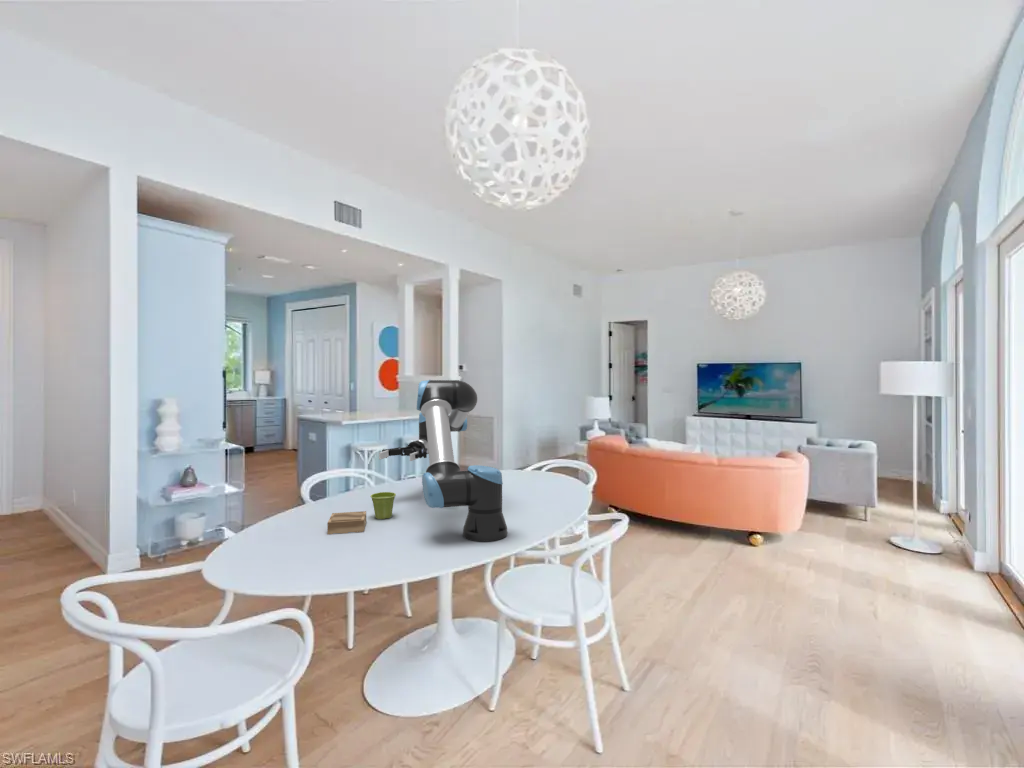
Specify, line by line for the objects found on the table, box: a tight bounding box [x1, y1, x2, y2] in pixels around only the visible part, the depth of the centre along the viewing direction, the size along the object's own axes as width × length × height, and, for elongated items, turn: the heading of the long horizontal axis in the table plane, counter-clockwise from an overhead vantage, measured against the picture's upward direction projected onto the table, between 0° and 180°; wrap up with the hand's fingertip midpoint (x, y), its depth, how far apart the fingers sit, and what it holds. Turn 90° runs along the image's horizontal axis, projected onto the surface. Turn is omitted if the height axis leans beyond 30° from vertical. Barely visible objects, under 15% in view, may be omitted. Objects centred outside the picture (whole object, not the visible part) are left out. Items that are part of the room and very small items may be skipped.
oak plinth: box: [326, 510, 367, 535], centre depth 180 cm, size 12×12×4 cm
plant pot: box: [370, 491, 397, 520], centre depth 193 cm, size 9×9×9 cm
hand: (395, 456), depth 202 cm, fingers open, 13 cm apart
